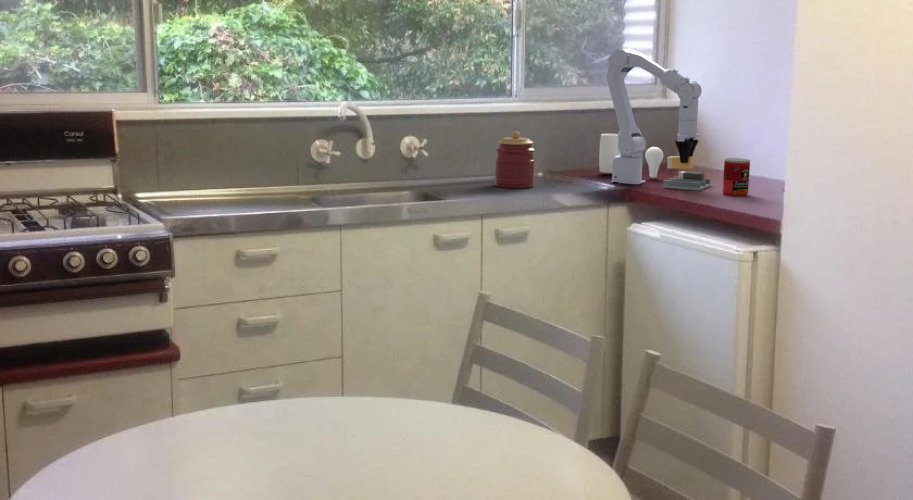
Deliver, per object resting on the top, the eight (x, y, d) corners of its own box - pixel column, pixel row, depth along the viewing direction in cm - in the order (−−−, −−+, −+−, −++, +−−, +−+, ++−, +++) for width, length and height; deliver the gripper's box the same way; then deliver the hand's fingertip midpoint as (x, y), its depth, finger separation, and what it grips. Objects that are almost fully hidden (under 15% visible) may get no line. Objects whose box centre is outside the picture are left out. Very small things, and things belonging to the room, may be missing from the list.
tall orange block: (693, 167, 350) (693, 156, 349) (690, 168, 347) (690, 157, 346) (670, 167, 353) (670, 156, 353) (667, 168, 350) (667, 157, 350)
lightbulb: (664, 178, 374) (666, 146, 372) (658, 180, 369) (659, 148, 367) (648, 177, 377) (649, 145, 375) (641, 178, 372) (642, 146, 370)
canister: (513, 182, 358) (514, 128, 355) (543, 186, 349) (544, 131, 346) (486, 185, 349) (487, 130, 346) (515, 189, 340) (517, 133, 337)
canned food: (734, 197, 331) (736, 161, 329) (716, 193, 338) (719, 158, 336) (753, 195, 335) (755, 160, 333) (735, 192, 342) (738, 157, 340)
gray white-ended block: (703, 183, 355) (704, 172, 354) (700, 185, 352) (701, 173, 351) (681, 182, 358) (681, 171, 358) (678, 183, 355) (678, 172, 355)
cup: (624, 176, 378) (625, 135, 375) (599, 176, 378) (601, 135, 375) (620, 173, 386) (622, 133, 383) (597, 173, 386) (598, 133, 383)
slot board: (663, 187, 350) (663, 180, 350) (674, 183, 361) (674, 176, 361) (699, 190, 345) (700, 183, 344) (710, 186, 356) (710, 178, 355)
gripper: (694, 121, 338) (691, 165, 341) (706, 119, 351) (704, 161, 353) (672, 120, 341) (669, 163, 344) (685, 118, 354) (682, 159, 357)
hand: (685, 162), depth 349 cm, fingers closed on tall orange block, 3 cm apart
